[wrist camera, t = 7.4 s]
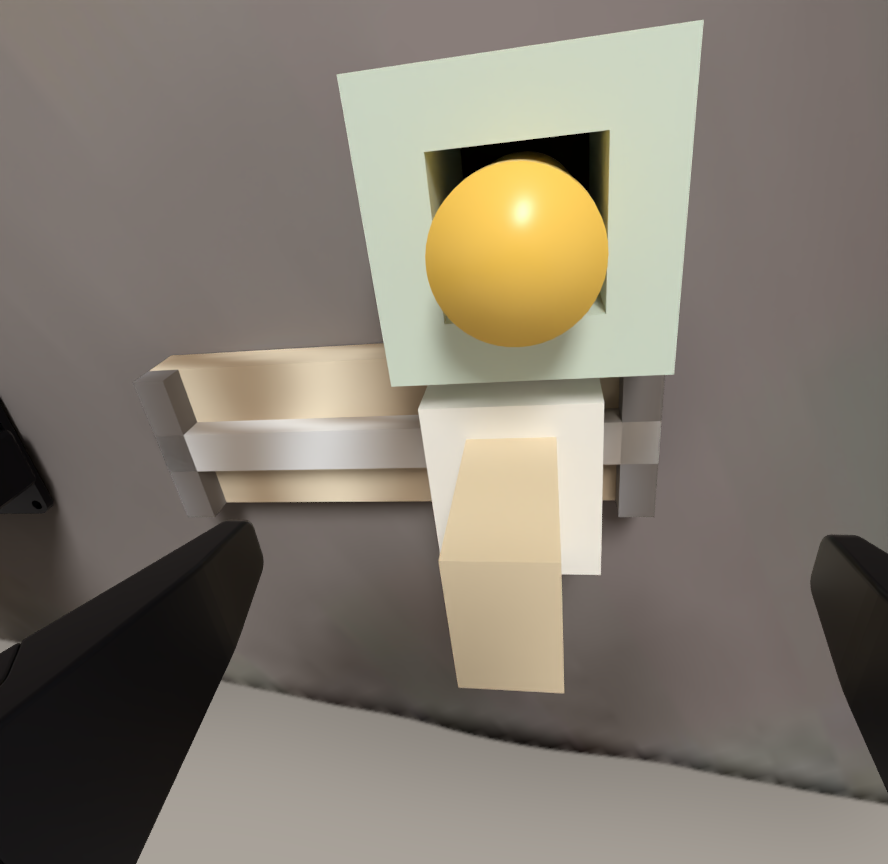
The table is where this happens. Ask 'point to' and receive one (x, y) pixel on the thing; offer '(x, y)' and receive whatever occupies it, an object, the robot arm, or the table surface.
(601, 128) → the button housing
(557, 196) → the button
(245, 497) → the rail
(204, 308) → the table surface
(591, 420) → the carriage
